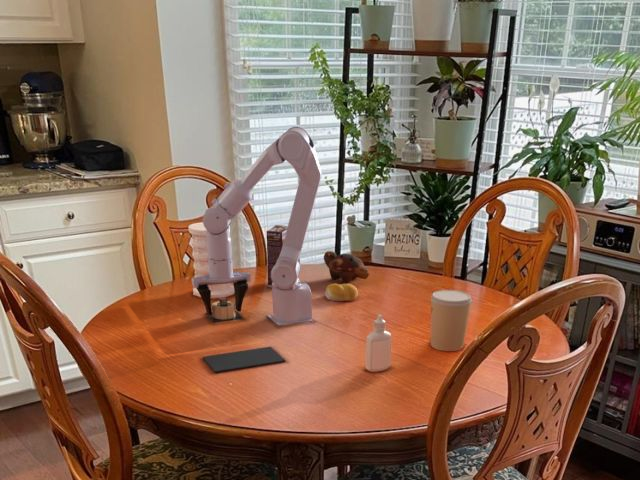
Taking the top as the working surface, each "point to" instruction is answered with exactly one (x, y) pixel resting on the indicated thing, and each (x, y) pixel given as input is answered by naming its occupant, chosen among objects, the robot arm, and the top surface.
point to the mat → (243, 359)
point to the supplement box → (274, 247)
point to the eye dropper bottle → (378, 347)
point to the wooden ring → (223, 310)
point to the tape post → (223, 304)
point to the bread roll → (341, 292)
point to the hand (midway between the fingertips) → (224, 312)
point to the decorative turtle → (345, 266)
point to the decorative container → (205, 261)
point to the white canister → (449, 319)
